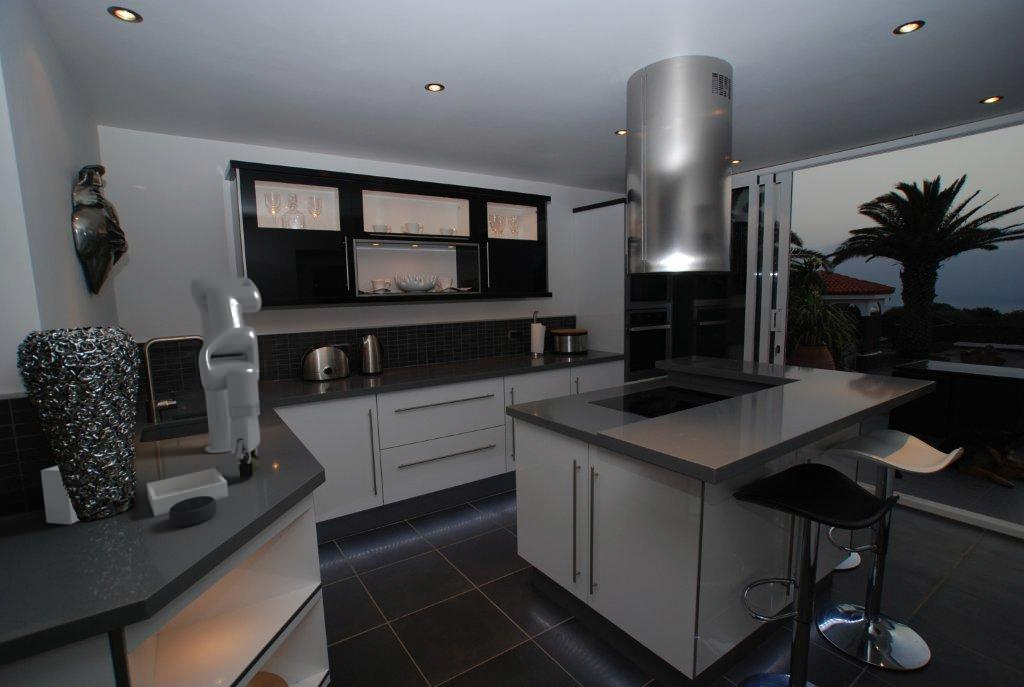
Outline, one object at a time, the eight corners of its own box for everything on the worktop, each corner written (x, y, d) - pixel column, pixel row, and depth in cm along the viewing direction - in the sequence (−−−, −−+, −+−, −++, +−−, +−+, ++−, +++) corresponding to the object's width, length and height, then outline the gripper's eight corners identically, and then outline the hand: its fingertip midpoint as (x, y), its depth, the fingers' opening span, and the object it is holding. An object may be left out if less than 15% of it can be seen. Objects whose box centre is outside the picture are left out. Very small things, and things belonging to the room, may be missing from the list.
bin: (148, 498, 119) (146, 483, 118) (216, 481, 129) (214, 467, 128) (154, 516, 108) (152, 500, 107) (228, 496, 118) (226, 481, 117)
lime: (262, 472, 132) (261, 455, 132) (248, 478, 128) (246, 461, 127) (250, 470, 134) (249, 454, 133) (236, 477, 129) (234, 459, 128)
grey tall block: (70, 525, 105) (64, 471, 104) (45, 523, 106) (39, 469, 105) (105, 510, 112) (99, 460, 111) (81, 509, 113) (75, 459, 112)
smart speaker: (199, 528, 101) (198, 511, 101) (160, 529, 101) (158, 512, 101) (225, 510, 110) (224, 494, 110) (189, 511, 110) (187, 495, 110)
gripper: (240, 405, 136) (245, 465, 138) (217, 419, 120) (223, 486, 122) (267, 403, 138) (272, 462, 140) (249, 416, 122) (254, 483, 123)
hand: (249, 473), depth 131 cm, fingers closed on lime, 4 cm apart
